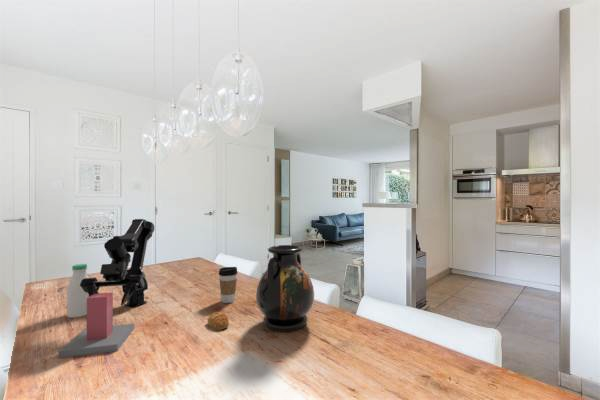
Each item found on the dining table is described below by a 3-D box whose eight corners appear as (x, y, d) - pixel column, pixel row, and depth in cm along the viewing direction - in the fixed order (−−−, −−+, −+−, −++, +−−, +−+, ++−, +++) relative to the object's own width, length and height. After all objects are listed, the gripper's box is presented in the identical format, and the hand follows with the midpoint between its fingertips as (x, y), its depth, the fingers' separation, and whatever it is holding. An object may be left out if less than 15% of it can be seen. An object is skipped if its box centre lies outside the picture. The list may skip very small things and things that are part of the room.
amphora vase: (293, 343, 87) (292, 254, 88) (243, 326, 99) (243, 248, 99) (324, 319, 105) (324, 245, 106) (279, 307, 117) (279, 241, 117)
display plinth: (84, 334, 94) (84, 328, 94) (134, 329, 98) (134, 323, 98) (58, 358, 79) (58, 351, 79) (117, 350, 83) (117, 344, 83)
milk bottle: (95, 312, 113) (95, 263, 113) (73, 319, 106) (73, 267, 106) (84, 309, 116) (85, 262, 116) (62, 316, 109) (63, 265, 109)
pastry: (233, 327, 99) (233, 317, 99) (215, 333, 95) (215, 322, 95) (222, 319, 106) (222, 309, 106) (205, 324, 102) (205, 313, 102)
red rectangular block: (93, 333, 90) (93, 293, 90) (112, 331, 91) (112, 292, 92) (86, 340, 86) (86, 298, 86) (106, 338, 87) (106, 296, 87)
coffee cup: (232, 304, 121) (232, 270, 121) (215, 303, 122) (215, 269, 123) (240, 298, 129) (240, 266, 129) (223, 297, 131) (223, 265, 131)
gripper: (82, 255, 96) (63, 297, 85) (141, 252, 101) (131, 292, 90) (93, 272, 104) (77, 313, 93) (148, 269, 108) (139, 307, 97)
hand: (106, 306), depth 93 cm, fingers open, 9 cm apart
